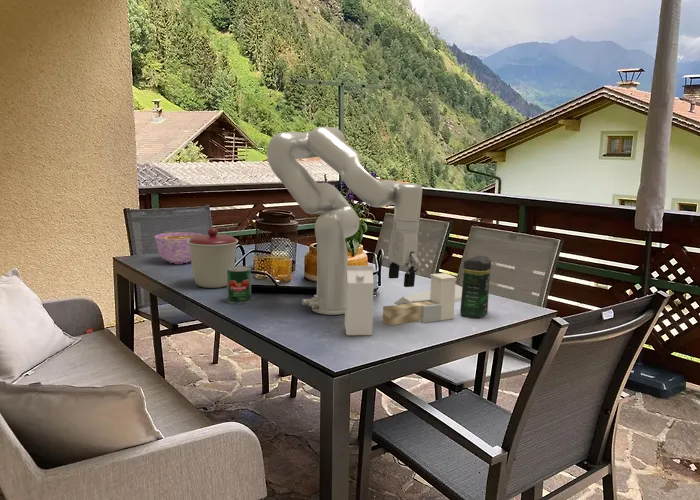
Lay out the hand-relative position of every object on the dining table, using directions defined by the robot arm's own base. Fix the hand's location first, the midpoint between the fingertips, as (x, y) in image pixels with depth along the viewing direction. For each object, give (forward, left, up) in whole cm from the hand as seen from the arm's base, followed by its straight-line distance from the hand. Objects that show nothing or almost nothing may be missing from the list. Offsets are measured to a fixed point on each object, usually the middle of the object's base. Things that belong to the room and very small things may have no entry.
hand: (400, 282), depth 177 cm
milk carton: (-16, -6, -12) cm, 21 cm away
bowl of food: (-50, +106, -12) cm, 118 cm away
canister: (-44, +61, -12) cm, 76 cm away
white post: (+12, -1, -12) cm, 17 cm away
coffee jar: (+26, -2, -12) cm, 28 cm away
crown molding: (+23, +17, -13) cm, 31 cm away
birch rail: (+3, -1, -12) cm, 12 cm away
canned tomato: (-40, +37, -12) cm, 56 cm away
